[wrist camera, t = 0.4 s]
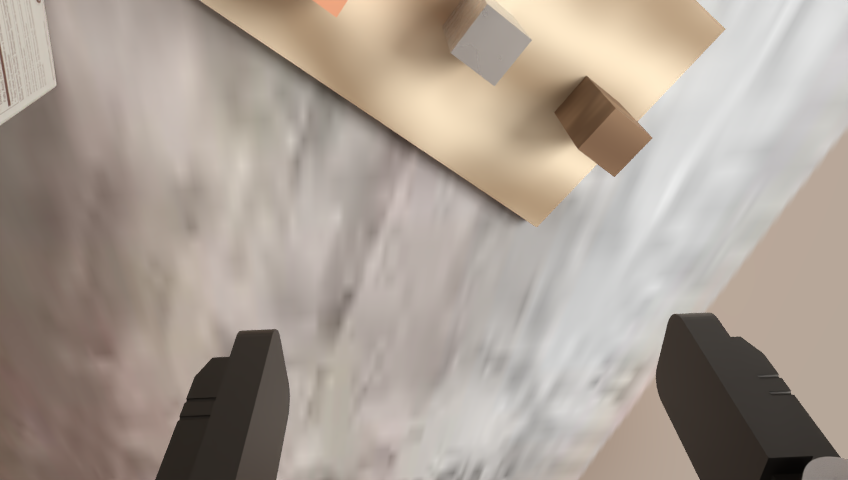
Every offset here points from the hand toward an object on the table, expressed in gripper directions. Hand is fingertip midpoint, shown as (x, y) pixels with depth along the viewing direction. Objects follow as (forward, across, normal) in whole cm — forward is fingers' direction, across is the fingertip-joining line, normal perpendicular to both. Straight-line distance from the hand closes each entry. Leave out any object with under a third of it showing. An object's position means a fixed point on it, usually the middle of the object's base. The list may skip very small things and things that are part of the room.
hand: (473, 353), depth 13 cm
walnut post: (+24, -9, +4) cm, 25 cm away
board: (+25, -2, -2) cm, 25 cm away
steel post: (+24, -3, -2) cm, 24 cm away
